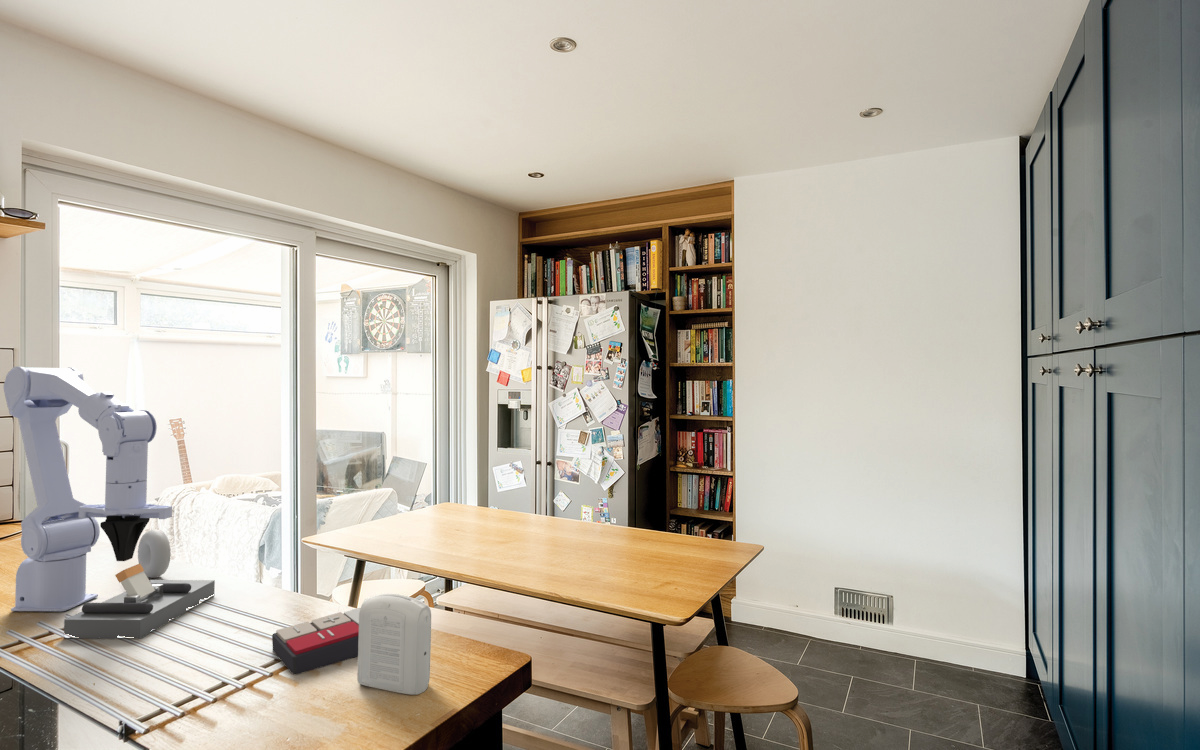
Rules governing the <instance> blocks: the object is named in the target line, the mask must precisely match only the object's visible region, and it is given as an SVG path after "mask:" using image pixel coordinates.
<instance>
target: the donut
mask: <svg viewBox="0 0 1200 750" xmlns="http://www.w3.org/2000/svg"><path fill="white" fill-rule="evenodd" d="M139 539H140V540H139V543H138V548H137V560H138V564H141V566H142V567H143V569H144V573H145V574H146V576H147V578H148V579H149V578H150V579H154V578H155V579H156V578H159V577H161V576H163V575H164V574H165V573H166V571H167V570H168V569H169V566H170V562H171V556H172V555H171V554H172V553H171V552H172V551H171V550H172V549H171V544H170V540H169V538H168V536H167V534H166V533H165V532H163V531H162V530H160V529H157V528H155V529H154V528H153V529H149V530H147V531H146V532H145V533H144V534H143V535H141V538H139Z"/></svg>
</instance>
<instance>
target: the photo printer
mask: <svg viewBox="0 0 1200 750" xmlns="http://www.w3.org/2000/svg"><path fill="white" fill-rule="evenodd" d="M359 608H360V612H359V638H358V656H357V675H356V676H357V683H358V684H359V685H362V686H366V687H369V688H370V687H371V688H376V689H381V690H385V691H389V692H395V693H398V694H404V695H405V694H406V695H415V696H416V695H417V696H418V695H420V694H422V693H424V692H425V691H426V690H427V689H428V687H429V683H430V678H431V677H430V676H431V651H432V650H431V649H432V647H431V646H432V644H431V643H432V610H431V607H430V606H429V605H428V604H426V603H424V602H422V601H421V600H419V599H417V598H414V597H412V596H408V595H404V594H399V593H381V594H375V595H371V596H370V597H368V598H365V599H364V600H363V602H362V603H361V605H360V607H359Z"/></svg>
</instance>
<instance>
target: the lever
mask: <svg viewBox="0 0 1200 750" xmlns="http://www.w3.org/2000/svg"><path fill="white" fill-rule="evenodd" d="M114 576H115V578H116V579H117V581H118V583H119V584H121V585H122V587H123V589H124V590H125V592H127V594H128V595H140V602H142V601H144V600H146V599H148V598H150V597H152V596H154V595H155V589H154V588H153V586H152V584H151V583H150V580H149V577H147V576H146V574H145V573H144V569H143V567H142V566H141V564H139V563H138V564H135V565H133V566H129V567H128V568H125V569H122V570H121V571H119V572H117V573H116V574H114Z"/></svg>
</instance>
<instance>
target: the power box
mask: <svg viewBox="0 0 1200 750" xmlns="http://www.w3.org/2000/svg"><path fill="white" fill-rule="evenodd" d="M149 581H150V583H151V584H152V586H153V588H154V589H155V595H154V596H152V597H150V598H148V599H146V600H144V601H142V602H140V595H128V594H127V592H126V591H123V592H122V593H119V594H117V595H115V596H113V597H111V598H109V599H106V600H104V601H102V602H84V604H83V605H82V607H81V611H80V612H78V613H75V614H74V615H71V616H68V617H67V618H65V619H64V621H63V634H64V633H65V634H69V635H72V636H75V637H79V638H78V639H86V638H87V639H95V640H96V639H97V640H98V639H99V640H100V639H104V640H105V639H109V640H110V639H112V640H114V639H115V638H117V636H118V635H119V636H125V637H134V638H140V639H142V638H143V637H146V636H148V635H149V634H151V633H150V631H151V630H152V629H156V630H157V628H158V629H160V628H162V627H163V626H165V625H167V624H169V622H168V621H169V619H172V618H175V619H177V618H178V616H179V617H180V616H182V615H184V614H185V612H186V608H188V607H192V606H195V605H197V604H199V600H200V599H204V598H208V597H209V596H211V595H213V594H214V595H215V583H216V582H215V579H209V580H208V579H150V580H149ZM199 605H200V604H199ZM186 613H187V612H186ZM176 617H177V618H176ZM164 624H165V625H164ZM159 627H160V628H159Z"/></svg>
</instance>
